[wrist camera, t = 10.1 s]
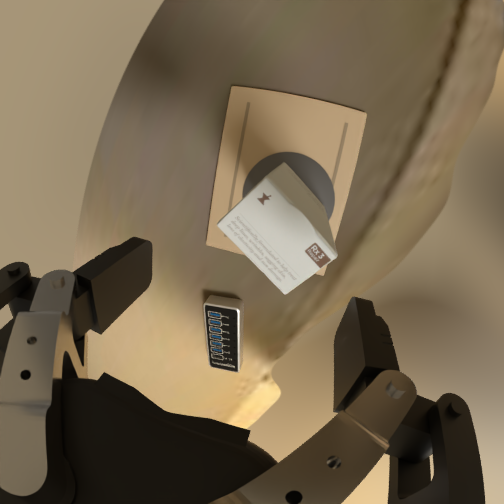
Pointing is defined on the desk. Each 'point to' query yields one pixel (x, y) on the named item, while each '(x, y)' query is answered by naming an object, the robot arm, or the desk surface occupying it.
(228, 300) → the multiport hub
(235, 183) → the beige flat board
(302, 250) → the skincare box
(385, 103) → the desk surface
